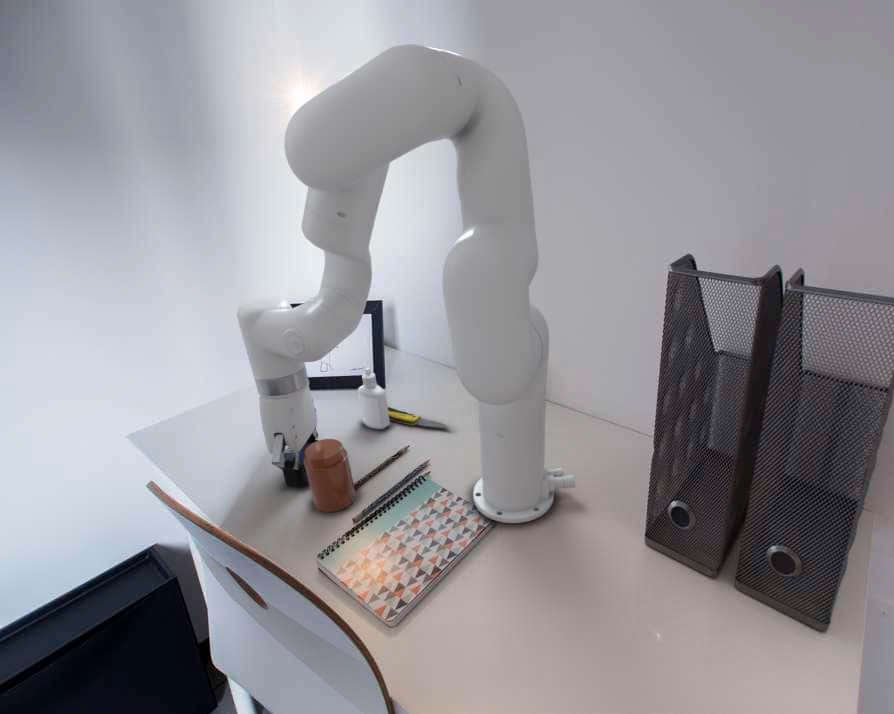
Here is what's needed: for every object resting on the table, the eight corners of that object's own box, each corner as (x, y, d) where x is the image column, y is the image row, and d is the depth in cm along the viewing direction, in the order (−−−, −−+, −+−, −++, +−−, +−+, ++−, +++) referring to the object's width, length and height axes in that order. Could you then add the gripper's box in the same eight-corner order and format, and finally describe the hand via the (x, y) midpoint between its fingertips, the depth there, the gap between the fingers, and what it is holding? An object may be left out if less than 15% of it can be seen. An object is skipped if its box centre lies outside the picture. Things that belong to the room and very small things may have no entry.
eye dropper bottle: (370, 433, 100) (360, 377, 94) (361, 420, 104) (351, 366, 99) (392, 427, 102) (383, 371, 96) (382, 414, 106) (374, 360, 100)
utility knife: (455, 420, 101) (447, 428, 99) (455, 425, 102) (448, 433, 99) (384, 405, 107) (375, 412, 105) (384, 410, 108) (376, 417, 105)
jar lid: (274, 474, 87) (271, 464, 86) (293, 450, 93) (291, 441, 92) (313, 476, 86) (310, 467, 85) (330, 452, 92) (327, 443, 91)
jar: (352, 482, 87) (342, 433, 83) (358, 505, 82) (348, 454, 78) (312, 492, 85) (299, 442, 81) (316, 516, 80) (302, 465, 76)
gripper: (281, 355, 89) (302, 443, 98) (230, 407, 74) (261, 505, 83) (324, 355, 89) (342, 443, 98) (282, 407, 74) (308, 506, 82)
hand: (305, 471), depth 90 cm, fingers closed on jar lid, 6 cm apart
